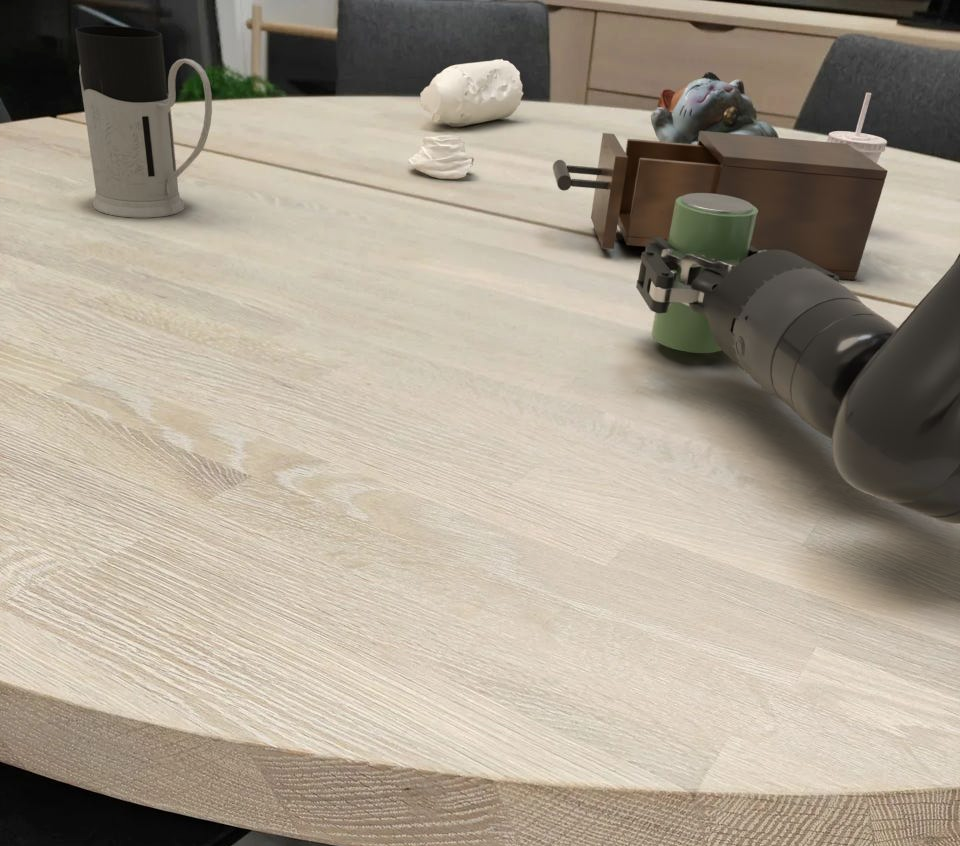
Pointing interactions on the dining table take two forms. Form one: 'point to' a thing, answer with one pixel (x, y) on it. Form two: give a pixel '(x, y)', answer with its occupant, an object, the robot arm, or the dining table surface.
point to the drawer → (641, 186)
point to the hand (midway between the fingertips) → (692, 251)
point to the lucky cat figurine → (706, 111)
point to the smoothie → (861, 137)
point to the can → (715, 232)
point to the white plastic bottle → (473, 93)
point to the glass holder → (133, 120)
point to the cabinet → (802, 195)
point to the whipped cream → (442, 157)
